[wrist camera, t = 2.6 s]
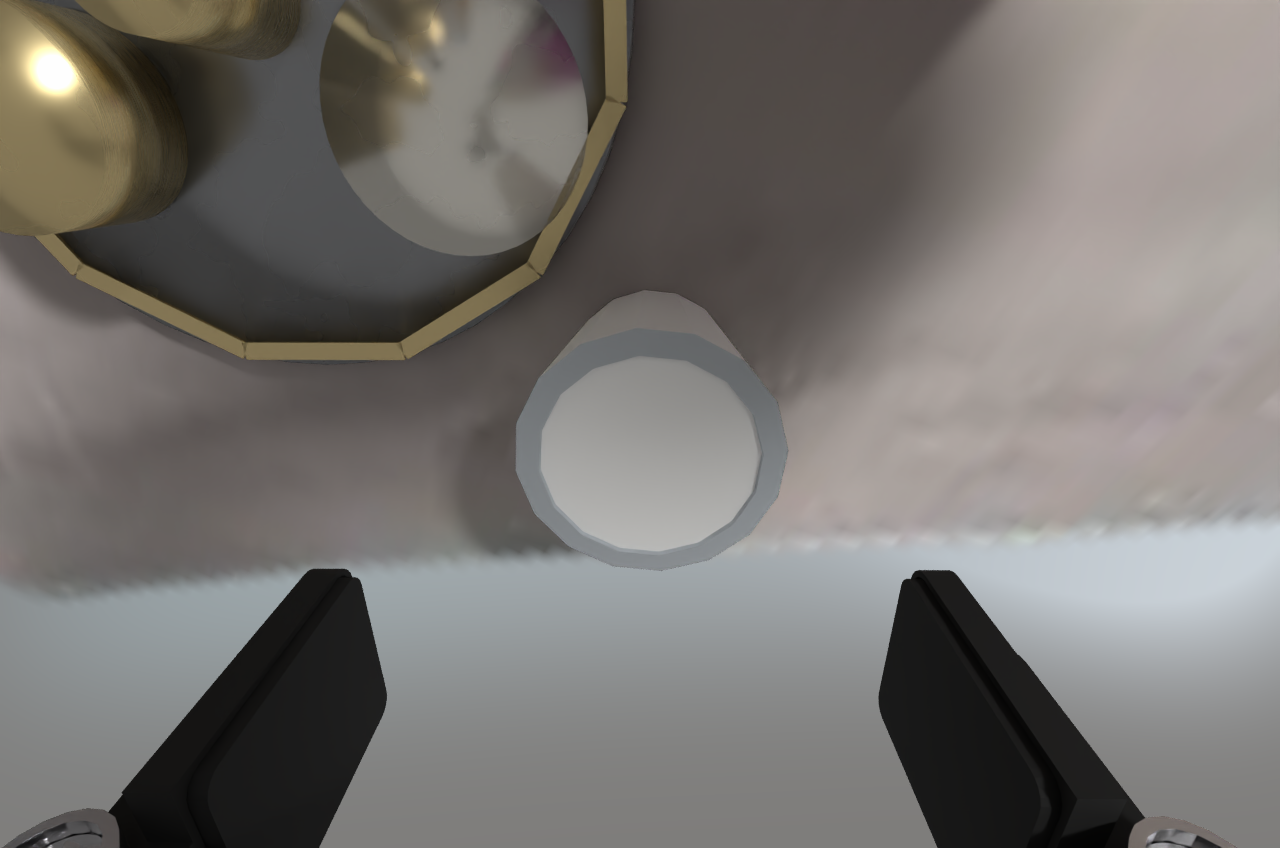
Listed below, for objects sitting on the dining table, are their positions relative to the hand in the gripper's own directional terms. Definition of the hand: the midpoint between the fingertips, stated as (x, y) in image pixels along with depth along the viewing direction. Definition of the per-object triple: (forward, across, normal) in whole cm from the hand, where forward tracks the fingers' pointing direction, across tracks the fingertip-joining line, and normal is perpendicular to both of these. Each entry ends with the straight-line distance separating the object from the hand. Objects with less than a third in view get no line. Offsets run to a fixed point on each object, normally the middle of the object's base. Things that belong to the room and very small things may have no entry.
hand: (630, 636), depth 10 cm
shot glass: (+12, 0, -1) cm, 12 cm away
